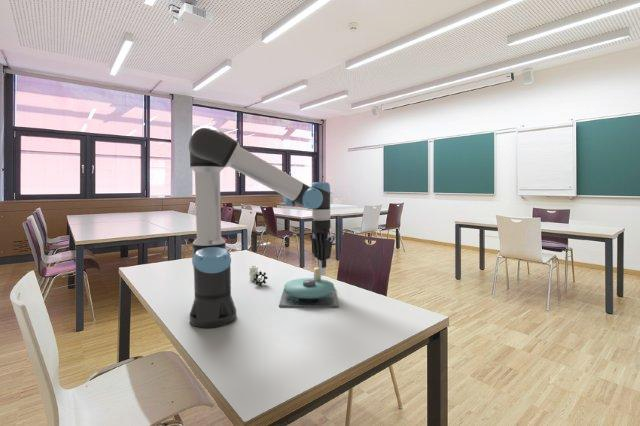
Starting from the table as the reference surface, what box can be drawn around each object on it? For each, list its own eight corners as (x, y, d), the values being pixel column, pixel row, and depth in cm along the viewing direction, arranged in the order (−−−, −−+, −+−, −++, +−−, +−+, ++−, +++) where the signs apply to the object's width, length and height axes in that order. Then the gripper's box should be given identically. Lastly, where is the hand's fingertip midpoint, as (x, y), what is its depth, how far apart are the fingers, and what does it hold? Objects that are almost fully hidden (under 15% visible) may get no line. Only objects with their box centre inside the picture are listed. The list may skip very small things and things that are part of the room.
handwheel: (322, 301, 122) (322, 282, 121) (275, 293, 130) (275, 276, 129) (340, 286, 140) (341, 270, 140) (298, 280, 148) (298, 264, 147)
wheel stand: (338, 307, 124) (338, 300, 124) (279, 307, 124) (279, 300, 124) (334, 288, 146) (334, 282, 146) (284, 288, 146) (284, 282, 146)
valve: (245, 280, 158) (253, 287, 148) (245, 266, 158) (253, 272, 147) (258, 278, 162) (267, 284, 151) (258, 264, 161) (267, 270, 151)
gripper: (338, 219, 137) (339, 275, 139) (317, 217, 146) (318, 270, 148) (325, 221, 132) (326, 279, 134) (304, 219, 141) (305, 273, 143)
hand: (322, 274), depth 141 cm, fingers closed
